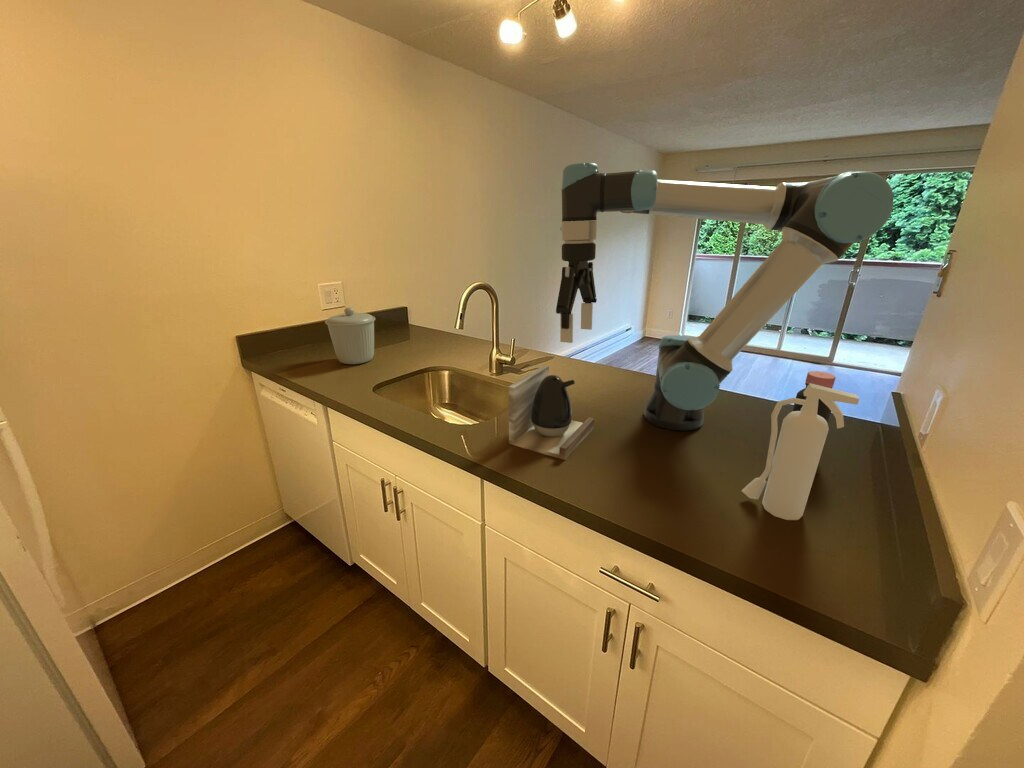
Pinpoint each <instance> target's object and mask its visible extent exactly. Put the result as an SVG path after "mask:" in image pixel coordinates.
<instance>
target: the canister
mask: <svg viewBox="0 0 1024 768" xmlns="http://www.w3.org/2000/svg"><path fill="white" fill-rule="evenodd" d="M343 311H344V313H338V314H334V315H332V316H330V317H328V319H326V320H325V321H324V323H325V324H326V325H327V328H328V331H329V332H328V333H329V335H330V339H331V342H332V346H333V349H334V353H335V355H336V358H337V360H338V361H339V363H341V364H343V365H345V364H346V365H359V364H364V363H367V362H370V361H372V359H373V357H374V355H375V321H376V317H375V315H372V314H369V313H365V312H355V309H354V308H353V307H349V306H348V307H346V308H344V310H343Z"/></svg>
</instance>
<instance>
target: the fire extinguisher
mask: <svg viewBox="0 0 1024 768" xmlns="http://www.w3.org/2000/svg"><path fill="white" fill-rule="evenodd" d="M805 388H806V387H805ZM803 393H804V396H807V398H806V400H804V399H797V398H796V397H791V398H787V399H783V400H780V401H779V400H778V401H777V402H776V403H775V406H774V408H773V410H772V412H771V415H770V419H771V421H770V422H771V423H770V424H771V425H770V426H771V427H770V430H771V433H770V437H769V444H768V451H767V457H766V464H765V467H764V471H763V472H762V473H761V475H760V476H759V477H755V478H753V480H751V481H750V482H749V483H748V484H747V485H746V486H744V487H743V488H742V490H741V492H742V493H744V495H745V496H746V497H748V498H749V499H751V500H759V498H760V497H761V495H762V492H763V491H764V494H763V497H762V500H761V501H762V502H761V505H762V506H763V509H764V510H765V511H766V512H768V513H769V514H771V515H772V516H773V517H777V518H779V519H783V520H785V521H798V520H800V519H801V518H802V517H803V516H804V512H805V509H806V506H807V503H808V499H809V496H810V492H811V488H812V486H813V482H814V480H815V477H816V473H817V470H818V466H819V463H820V461H821V460H820V459H821V456H822V452H823V449H824V445H825V443H826V440H827V436H828V433H829V430H830V429H829V423H828V424H827V421H826V420H825V419H824V418H823V417H821V416H819V415H817V411H818V400H819V399H820V400H821V401H822V402H823V403H824V404H826V405H827V406H828V407H829V409H830V410H831V414H832V415H833V417H835V422H836V423H835V424H836V429H841V428H844V427H845V422H844V421H845V420H844V413H843V411H842V410H841V408H840V406H839V405H838V403H844V404H851V405H855V406H856V405H858V404H859V402H860V401H859V400H860V398H859V395H858V394H855V393H851V392H847V391H844V390H843V391H842V390H839V389H835V388H833V387H832V388H827V387H823V386H819V385H815V384H811V383H809V385H808V386H807V388H806V389H805V390H804V392H803ZM836 402H837V403H836ZM794 403H795V404H801V405H803V406H802V408H801V411H791V412H789V413H788V414H787V415H786V416H785V417H784V418H783V419H782V423H781V427H780V432H779V430H778V429H779V428H778V416H779V413H780V411H781V409H782V407H783V406H786V405H791V404H794ZM778 433H779V435H778ZM777 437H778V438H777ZM767 478H768V479H767ZM766 479H767V480H766ZM764 488H765V490H764Z"/></svg>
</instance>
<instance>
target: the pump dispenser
mask: <svg viewBox="0 0 1024 768" xmlns="http://www.w3.org/2000/svg"><path fill="white" fill-rule="evenodd" d="M575 383H576V382H575V379H571V380H566V381H563V380H562V378H561V377H560V376H559V375H555V374H549V376H547V377H545V378H544V379H543V380H542V382H541V383H540V385H539V387H538V389H537V392H536V394H535V397H534V401H533V405H532V411H531V421H532V422H533V425H534V428H535V429H536V430H537V431H538V432H539V433H540V434H542V435H544V436H548V437H555V436H559V435H562V434H563V433H565V432H566V431H567V429H568V428H569V425H570V423H571V422H572V420H573V411H572V403H571V399H570V394H569V392H568V389H567V388H568V387H571V386H572V385H575Z"/></svg>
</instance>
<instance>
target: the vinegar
mask: <svg viewBox="0 0 1024 768" xmlns="http://www.w3.org/2000/svg"><path fill="white" fill-rule="evenodd" d="M835 381H836V376H835V374H832V373H829V372H825V371H818V370H811V371H808V372H807V375H806V377H805V388H803V389H801V390H799V391H798V392H797V393H796V395H795V398H797V399H804V400H806V398H807V396H804V393H803V392H804V390H805V389H806V388H807V386H808V385H809V383H811V384H815V385H819V386H823V387H827V388H832V389H833V387H834V385H835ZM802 406H803V405H801V404H795V403H793V407H792V411H801V408H802ZM792 411H791V412H792ZM831 414H832V412H831V410H830V409H829V407H828V406H827V405H826V404H824V403H823V402H822V401H821V400H820V399H819V400H818V411H817V415H819V416H821V417H823V418H824V419H825V420H826V421H827V424H828V425H829V422H830V417H831Z"/></svg>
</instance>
